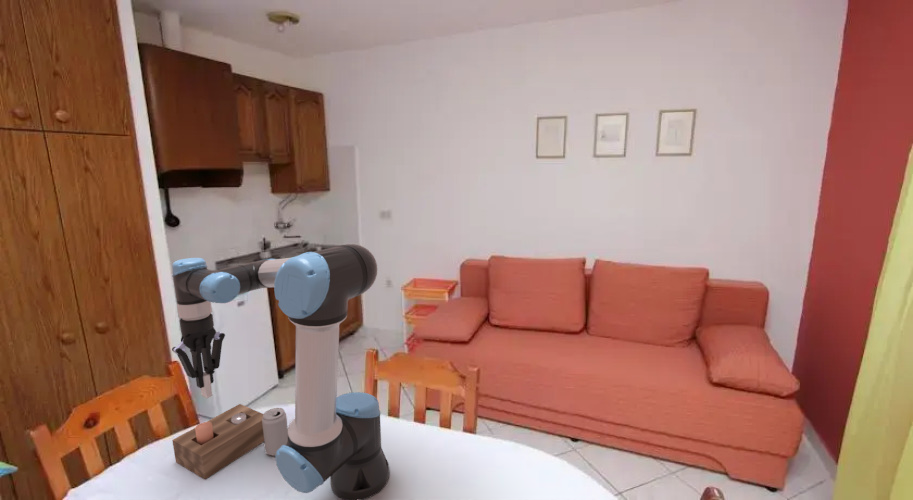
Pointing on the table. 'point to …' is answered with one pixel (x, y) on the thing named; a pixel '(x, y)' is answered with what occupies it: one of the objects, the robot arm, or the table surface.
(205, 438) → the terracotta plug
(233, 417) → the grey plug
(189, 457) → the socket board
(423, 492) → the table surface
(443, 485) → the table surface
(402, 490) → the table surface
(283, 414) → the beverage can
